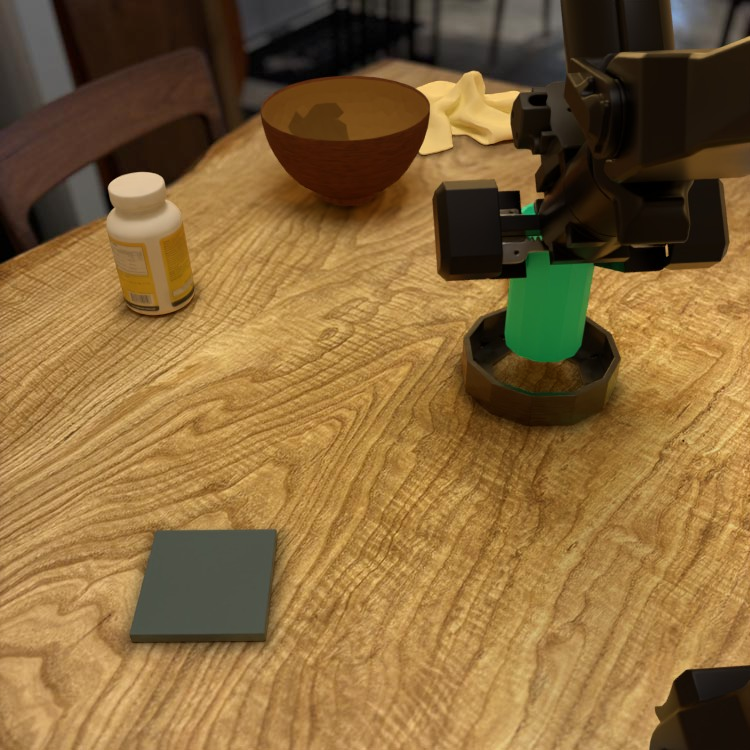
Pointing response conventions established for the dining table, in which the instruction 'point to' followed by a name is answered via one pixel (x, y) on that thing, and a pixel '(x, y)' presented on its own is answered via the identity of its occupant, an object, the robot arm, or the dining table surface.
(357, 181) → the bowl
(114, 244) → the pill bottle
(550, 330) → the candle
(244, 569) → the coaster
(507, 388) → the pan
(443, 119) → the cloth
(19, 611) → the dining table surface
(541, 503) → the dining table surface
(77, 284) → the dining table surface
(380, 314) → the dining table surface
